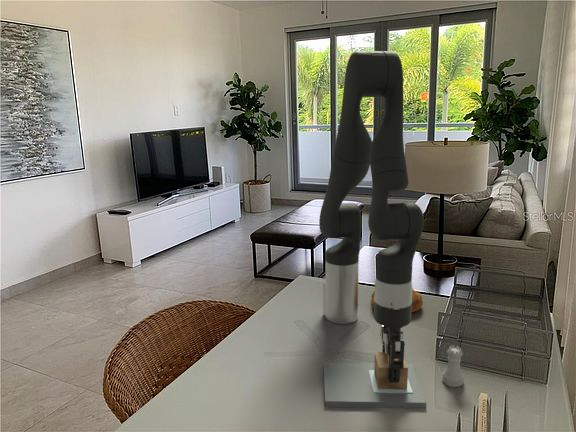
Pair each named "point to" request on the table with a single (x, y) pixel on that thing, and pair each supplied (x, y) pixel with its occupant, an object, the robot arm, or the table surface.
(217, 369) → the table surface
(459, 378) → the rook chess piece
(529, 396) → the table surface
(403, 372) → the walnut block
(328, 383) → the board
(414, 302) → the croissant
